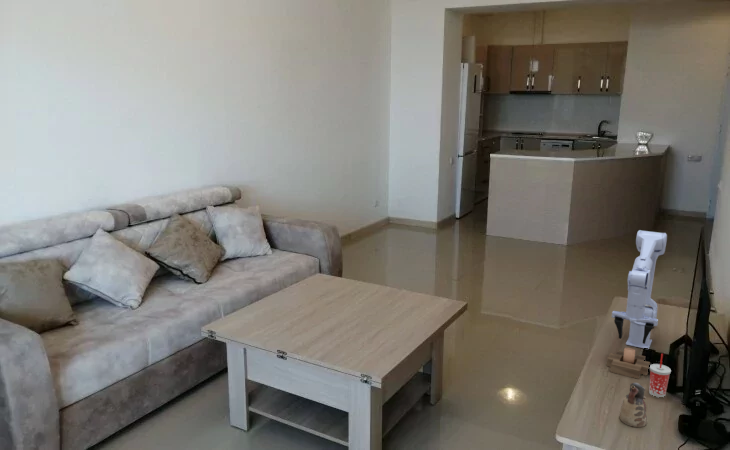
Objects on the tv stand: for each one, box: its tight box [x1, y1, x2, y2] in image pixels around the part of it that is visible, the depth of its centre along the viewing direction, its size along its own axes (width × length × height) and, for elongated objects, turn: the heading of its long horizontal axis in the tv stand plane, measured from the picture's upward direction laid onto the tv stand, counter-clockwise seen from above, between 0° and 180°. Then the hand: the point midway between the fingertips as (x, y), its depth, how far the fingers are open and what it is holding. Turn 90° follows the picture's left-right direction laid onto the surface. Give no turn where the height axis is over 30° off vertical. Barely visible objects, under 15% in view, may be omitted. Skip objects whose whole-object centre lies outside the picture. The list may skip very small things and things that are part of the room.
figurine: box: [619, 382, 647, 428], centre depth 165 cm, size 7×7×12 cm
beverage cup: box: [648, 353, 672, 398], centre depth 179 cm, size 6×6×14 cm
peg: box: [623, 347, 636, 364], centre depth 197 cm, size 4×4×7 cm
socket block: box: [606, 349, 651, 380], centre depth 198 cm, size 13×13×3 cm
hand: (632, 340), depth 199 cm, fingers open, 7 cm apart
